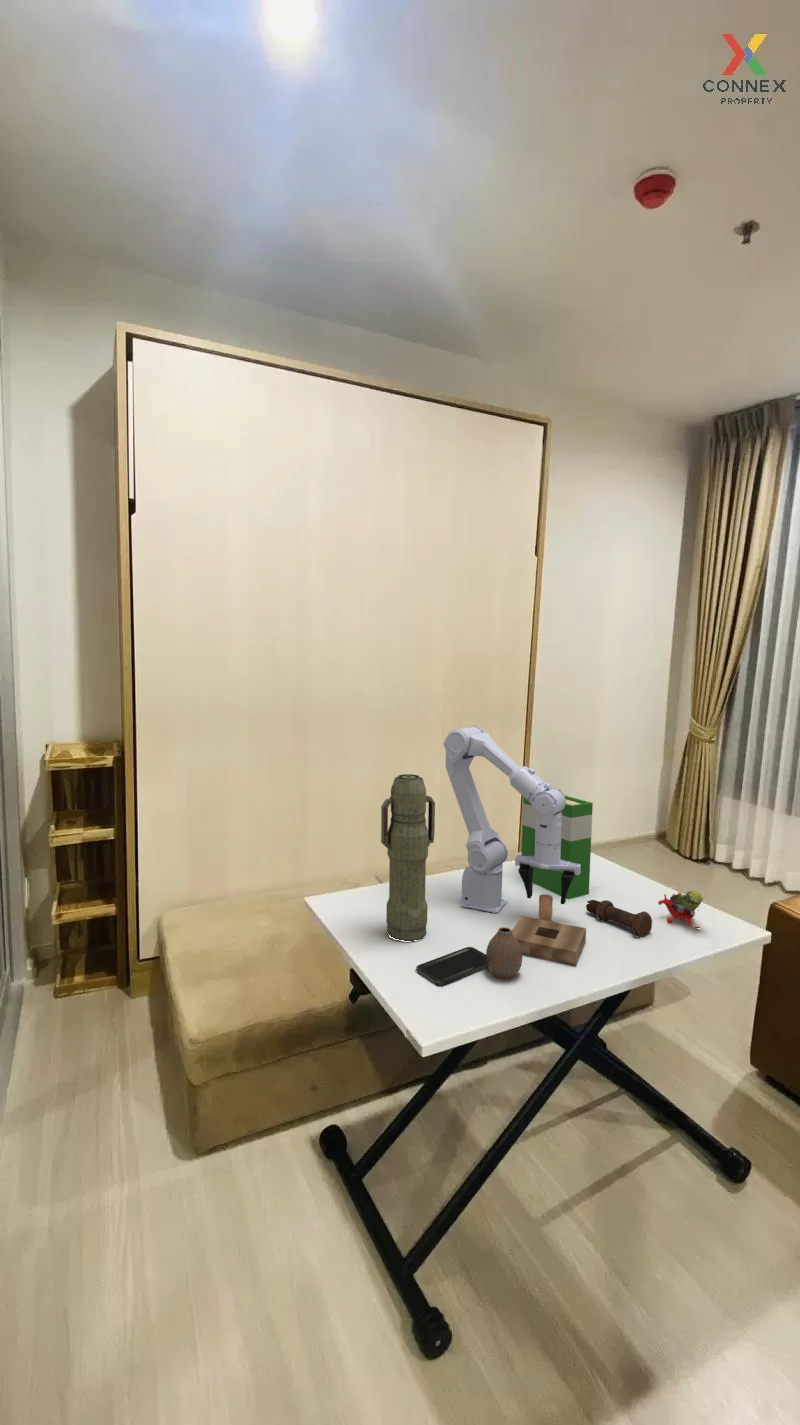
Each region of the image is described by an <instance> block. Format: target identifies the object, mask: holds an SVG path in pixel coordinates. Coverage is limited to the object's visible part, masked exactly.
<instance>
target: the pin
mask: <svg viewBox="0 0 800 1425" xmlns="http://www.w3.org/2000/svg"><path fill="white" fill-rule="evenodd" d="M538 899H539V900H538V919H541V920H547V921H552V922H553V900H554V898H553V896H552V895H551V894H546V893H542V894H539V897H538Z"/></svg>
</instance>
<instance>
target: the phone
mask: <svg viewBox="0 0 800 1425" xmlns="http://www.w3.org/2000/svg"><path fill="white" fill-rule="evenodd" d="M487 969H489V967H488V964H487V960H486V953H484V952H482V951H481V950H479V949H477V948H476V947H473V946H467V947H464V948H461V949H458V950H455V951H453V952H450V953H448V954H445V955H442V956H439V957H436V958H433V959H431V960H428V961H426V962H424V963H420V964H418V965H416V968H415V971H417V972H418V973H419V974H418V973H417V972H416V973H417V974H418V975H420V976H421V975H422V976H421V977H423V978H424V977H425V978H424V979H426V981H429V982H430V983H431V984H433V985H434V986H436V987H440V988H441V987H446V986H448V985H450V984H453V983H455V982H458V981H460V980H462V979H463V980H464V979H465V978H467V977H470V976H472V975H475V974H477V973H480V972H482V971H485V970H487Z"/></svg>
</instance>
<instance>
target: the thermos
mask: <svg viewBox="0 0 800 1425" xmlns="http://www.w3.org/2000/svg"><path fill="white" fill-rule="evenodd" d="M427 803H428V806H427ZM389 806H390V813H391V817H390V823H389ZM427 807H428V810H427ZM380 809H381V811H380V812H381V815H380V816H381V817H380V819H381V820H380V822H381V823H380V825H381V826H380V828H381V829H380V831H381V832H380V842H381V844H382V845H383V846H384V847H385V848H387V854H386V855H387V856H388V859H389V867H388V868H389V870H388V871H389V874H388V877H389V878H388V879H389V882H388V883H389V885H388V886H389V887H388V888H389V889H388V891H389V892H388V898H387V899H388V900H387V902H386V916H385V917H386V918H385V919H386V920H385V922H386V925H387V927H386V928H387V930H386V933H387V932H388V934H389V935H390V936H391V937H393V938H395V939H399V940H404V941H414V940H419V939H422V938H423V937H424V936H425V935H426V936H427V925H428V908H429V906H428V902H427V899H426V872H427V871H426V870H427V869H426V868H427V865H426V864H427V858H428V855H429V847H430V844H433V843H434V841H435V827H436V826H435V823H436V822H435V820H436V817H435V816H436V802H435V801H434V799H433V798H432V797H431V796H430V795H427V787H426V785H425V782H424V778H423V777H421V776H420V775H418V774H410V773H409V774H405V773H404V774H399V775H397V776H396V777H394V780H393V782H392V785H391V788H390V796H389V798H386V799H384V801H383V803H382V804H381V808H380ZM427 811H428V813H427V814H428V815H427V816H428V817H427V819H426V816H425V815H426V812H427ZM426 820H427V821H426ZM426 823H428V824H426ZM427 825H428V826H427ZM424 938H425V937H424ZM424 938H423V939H424ZM423 939H422V940H423Z"/></svg>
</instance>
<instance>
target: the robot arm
mask: <svg viewBox="0 0 800 1425" xmlns="http://www.w3.org/2000/svg"><path fill="white" fill-rule="evenodd" d="M443 747H444V749H445V770H446V772H447V775H448V778H449V780H450V783H451V787H452V790H453V792H454V795H455V798H456V801H457V804H458V807H459V810H460V812H461V815H462V818H463V820H464V824H465V826H466V829H467V832H468V838H467V841H466V844H465V847H466V850H467V863H468V865H469V866H466V867H465V868H464V870H463V873H462V877H461V903H460V904H459V905H460V907H463V908H468V909H472V910H478V911H483V912H489V913H494V914H499V912H501V910H502V909H503V907H505V904H506V903H507V900H506V899H503V898H502V896H503V864H504V862H506V860H507V858H508V856H509V855H508V854H509V852H508V848H507V846H506V844H505V843H504V842H503V841H502V840H501V838H500V836H499V833H498V832H497V831H496V830H494V829H493V828H492V827H491V824H490V822H489V820H488V818H487V814H486V812H485V809H484V806H483V803H482V800H481V798H480V794H479V792H478V789H477V787H476V783H475V781H474V777H473V775H472V772H471V770H470V766H471V764H472V763H473V761H474V758H475V757H482V758H485V759H486V760H487V761H489V762H490V763H491V764H493V765H494V766H495V768H497V769H499V770H500V771H502V773H504V774H505V775H506V776H507V777H509V785H510V786H511V787H512V788H513V789H514V790H516V792H518V794H520V795H521V796H522V797H525V798H526V799H527V800H528V801H529V802H530V803H531V806H532V809H533V811H534V813H535V814H536V830H535V856H522V854H521V855H519V854H517V855H515V858H514V866H517V867H519V868H518V870H517V871H518V874H519V875H520V878H521V879H522V882H523V884H524V889H525V893H526V898H527V899H530V900H531V898H532V897H533V883H532V879H533V868H534V867H535V868H541V869H548V870H555V871H561V872H564V873H563V874H562V875H561V884H562V892H561V896H560V904H561V905H565V903H566V902H567V899H566V896H567V892H568V889H569V886H570V884H571V882H572V880H573V878H574V876H575V875H579V874H580V869H581V864H576V863H572V862H568V861H564V860H560V853H561V818H562V812H560V811H562V810H563V809H564V807H565V805H566V798H565V796H566V795H565V794H564V792H562V791H561V789H560V788H558V787H555V786H554V787H553V786H551V784H550V783H548V782H545V780H543V779H542V778H541V777H539V776H538V775H537V774H536V770H535V769H534V768H533V767H530V768H529V767H528V766H519V765H518V764H517V763H516V761H514V759H512V758H511V757H510V756H509V755H508V754H507V753H506V752H505V751H504V750H503V749H502V748H501V747H500V746H499V745H498V744H497V743H496V742H495V741H494V740H493V739H492V737H491V735H490V734H488V732H486V731H484V730H483V729H482V728H481V727H479V726H477V725H473V726H469V727H464V728H463V727H462V728H455V729H452V730H450V731H449V732H448V733H447V736H446V738H445V739H444V742H443ZM564 795H565V796H564ZM559 812H560V813H559Z"/></svg>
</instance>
